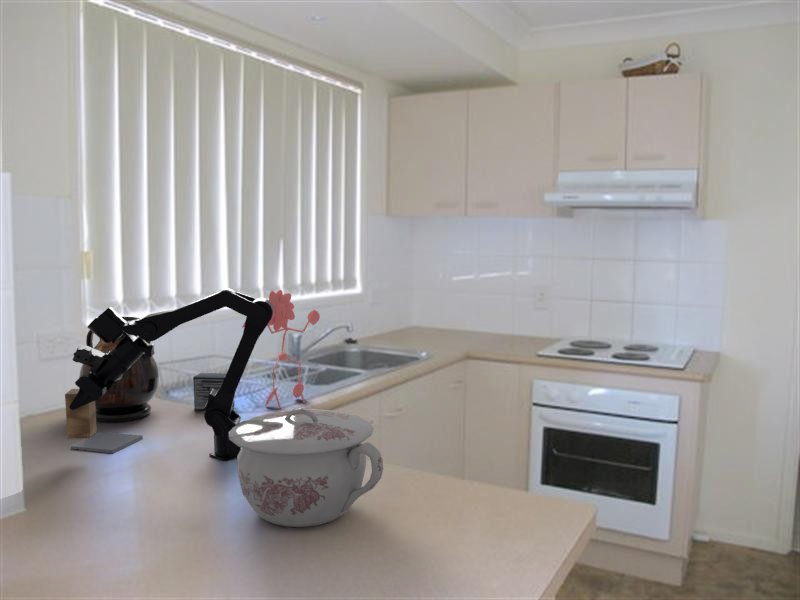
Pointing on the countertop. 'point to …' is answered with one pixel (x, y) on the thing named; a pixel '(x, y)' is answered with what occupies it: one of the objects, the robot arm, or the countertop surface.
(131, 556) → the countertop surface
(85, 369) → the amphora vase
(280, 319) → the figurine
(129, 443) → the plate
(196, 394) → the small box
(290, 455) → the chamber pot
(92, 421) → the walnut block
